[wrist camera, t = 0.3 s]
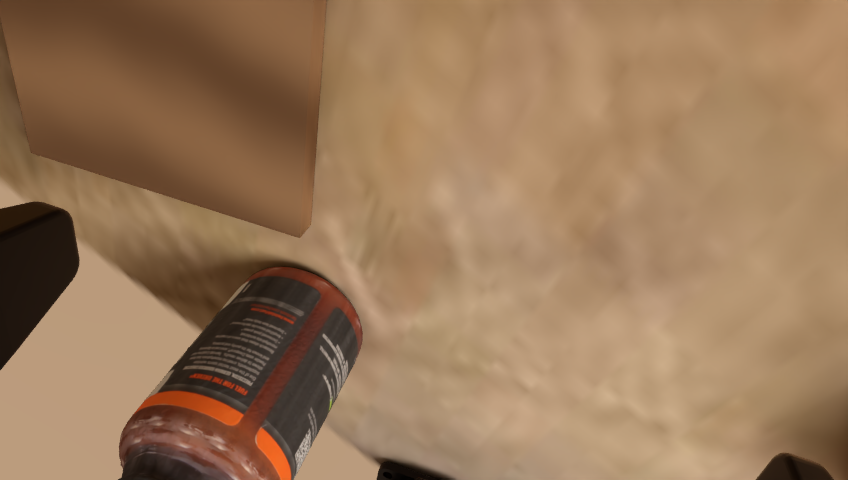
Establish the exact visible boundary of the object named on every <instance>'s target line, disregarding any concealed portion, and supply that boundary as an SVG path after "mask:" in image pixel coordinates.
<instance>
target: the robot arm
mask: <svg viewBox="0 0 848 480" xmlns="http://www.w3.org/2000/svg"><path fill="white" fill-rule="evenodd" d="M78 267H79V254H78V248H77V242H76V236H75V230H74V225H73V220H72V217H71V216H70V214H69V213H68V212H67V211H65V210H64V209H61V208H58V207H55V206H52V205H49V204H46V203H43V202H30V203H25V204H20V205H16V206H12V207H7V208H2V209H0V370H1V369H2V368H3V366H4V365H5V364H6V363H7V362H8V360H9V359H10V358H11V357H12V356H13V355H14V353H15V352H16V351H17V349H18V348H19V347H20V346H21V344H22V343H23V342H24V341H25V339H26V338H27V337H28V335H29V334H30V333H31V332H32V330H33V329H34V328H35V327H36V325H37V324H38V323H39V321H40V320H41V319H42V318H43V317H44V315H45V314H46V313H47V312H48V310H49V309H50V308H51V306H52V305H53V304H54V302H55V301H56V300H57V299H58V298H59V296H60V295H61V294H62V293H63V291H64V290H65V289H66V287H67V286H68V285H69V284H70V282H71V281H72V280H73V278H74V277H75V275H76V273H77V271H78ZM377 480H437V479H435V478H432V477H429V476H426V475H424V474H421V473H418V472H415V471H413V470H410V469H407V468H404V467H401V466H399V465H396V464H393V463H390V462H384V463H382V464H381V466H380V469H379V471H378V476H377ZM756 480H834V479H833V478H832V477H831V475H830V474H829V473H828V472H827V471H826V470H825V468H824V467H822V466H821V465H820V464H818V463H816V462H813V461H810V460H807V459H804V458H801V457H798V456H795V455H792V454H789V453H780V454H778V455H776V456H775V457H774V458H773V459H772V460H771V461H770V463H769V464H768V465H767V466H766V468H765V469H764V470H763V471H762V473H761V474H760V475H759V476H758V478H757V479H756Z"/></svg>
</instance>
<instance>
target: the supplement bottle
mask: <svg viewBox="0 0 848 480" xmlns="http://www.w3.org/2000/svg"><path fill="white" fill-rule="evenodd" d="M362 335H363V333H362V327H361V324H360V320H359V317H358V315H357V313H356V311H355V309H354V307H353V306H352V304H351V303H350V302H349V301H348V300H347V298H346V297H345V296H344V295H343V294H342V293H341V292H340V291H339V290H338V289H337V288H335V287H334V286H333V285H332V284H330V283H329V282H328V281H326V280H324V279H323V278H321V277H318V276H317V275H315V274H312V273H310V272H307V271H304V270H300V269H296V268H291V267H272V268H267V269H264V270H261V271H259V272H257V273H256V274H254V275H252V276H251V277H249V278H248V279H247V280H246V281H245V283H244V284H243V285H241V286H240V288H239V289H238V290H237V291H236V292H235V293H234V294H233V296H232V297H231V298H230V299H229V300H228V302H227V303H226V304H225V305H224V306H223V308H222V309H221V310H220V311H219V312H218V313H217V315H216V316H215V317H214V318H213V319H212V321H211V322H210V323H209V324H208V325H207V327H206V328H205V329H204V330H203V331H202V333H201V334H200V335H199V336H198V338H197V339H196V340H195V341H194V342H193V344H192V345H191V346H190V347H189V348H188V349H187V351H186V352H185V353H184V355H183V356H182V357H181V358H180V359H179V360H178V361H177V363H176V364H175V365H174V366H173V367H172V369H171V370H170V371H169V372H168V373H167V375H166V376H165V377H164V378H163V380H162V381H161V382H160V383H159V384H158V385H157V387H156V388H155V389H154V390H153V391H152V392H151V394H150V395H149V396H148V397H147V398H146V400H145V401H144V402H143V404H142V405H141V406H140V407H139V408H138V409H137V411H136V412H135V413H134V414H133V416H132V417H131V418H130V420H129V421H128V422H127V424H126V426H125V428H124V429H123V431H122V434H121V438H120V445H119V457H120V460H121V466H122V467H123V474H122V478H120V479H118V480H294V478H295V476H296V474H297V473H298V470H299V469H300V467H301V465H302V462H303V461H304V459H305V457H306V455H307V453H308V451H309V449H310V447H311V446H312V443H313V441H314V439H315V437H316V436H317V434H318V432H319V430H320V428H321V426H322V424H323V422H324V421H325V419H326V417H327V415H328V413H329V411H330V409H331V407H332V405H333V403H334V402H335V400H336V398H337V396H338V394H339V392H340V390H341V388H342V386H343V384H344V383H345V381H346V379H347V377H348V375H349V373H350V371H351V369H352V367H353V365H354V363H355V361H356V358H357V356H358V354H359V351H360V349H361V345H362Z"/></svg>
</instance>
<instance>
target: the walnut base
mask: <svg viewBox="0 0 848 480" xmlns="http://www.w3.org/2000/svg"><path fill="white" fill-rule="evenodd" d="M326 1H327V0H0V20H1V24H2V28H3V33H4V37H5V41H6V46H7V50H8V55H9V59H10V63H11V68H12V72H13V77H14V81H15V85H16V90H17V94H18V98H19V103H20V107H21V112H22V116H23V120H24V125H25V129H26V133H27V138H28V142H29V147H30V151H31V153H33V154H36V155H40V156H43V157H46V158H49V159H52V160H55V161H58V162H62V163H65V164H68V165H71V166H74V167H77V168H81V169H84V170H87V171H90V172H93V173H96V174H99V175H103V176H106V177H109V178H112V179H115V180H118V181H122V182H125V183H128V184H131V185H134V186H137V187H140V188H144V189H147V190H150V191H153V192H156V193H159V194H163V195H166V196H169V197H172V198H175V199H178V200H181V201H185V202H188V203H191V204H194V205H197V206H200V207H204V208H207V209H210V210H213V211H216V212H219V213H222V214H226V215H229V216H232V217H235V218H238V219H241V220H244V221H248V222H251V223H254V224H257V225H260V226H263V227H267V228H270V229H273V230H276V231H279V232H282V233H285V234H289V235H292V236H295V237H298V238H300V237H301V236H302V235H303V234H304V232H305V231H306V230H307V229H308V228H309V226H310V225H311V215H312V201H313V186H314V172H315V158H316V144H317V129H318V115H319V101H320V87H321V72H322V58H323V44H324V30H325V15H326Z"/></svg>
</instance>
